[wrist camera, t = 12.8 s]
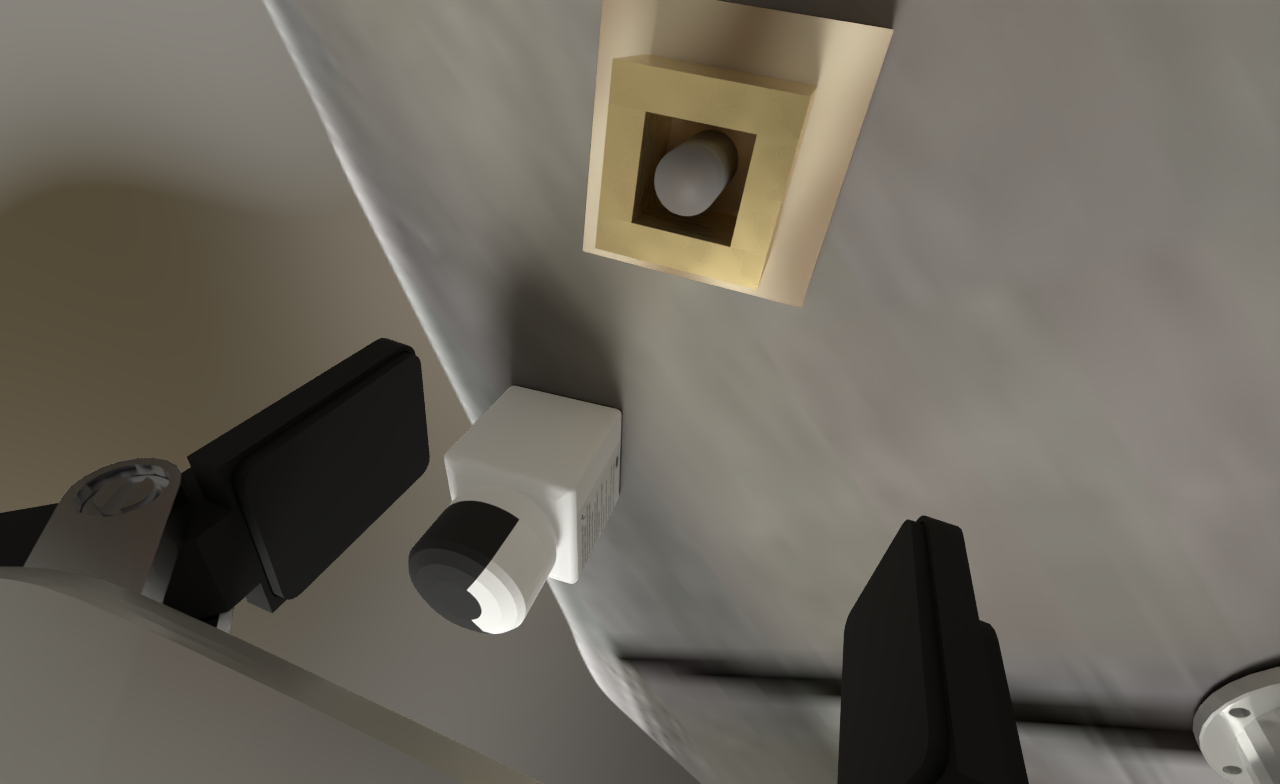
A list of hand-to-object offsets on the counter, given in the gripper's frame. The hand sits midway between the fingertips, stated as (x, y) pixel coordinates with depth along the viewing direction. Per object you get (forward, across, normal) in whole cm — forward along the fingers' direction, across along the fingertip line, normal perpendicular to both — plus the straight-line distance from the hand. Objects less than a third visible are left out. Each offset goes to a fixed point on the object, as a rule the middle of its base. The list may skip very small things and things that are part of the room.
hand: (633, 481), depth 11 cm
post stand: (+19, +3, -2) cm, 20 cm away
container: (+20, +9, +17) cm, 28 cm away
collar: (+17, +3, -2) cm, 18 cm away
